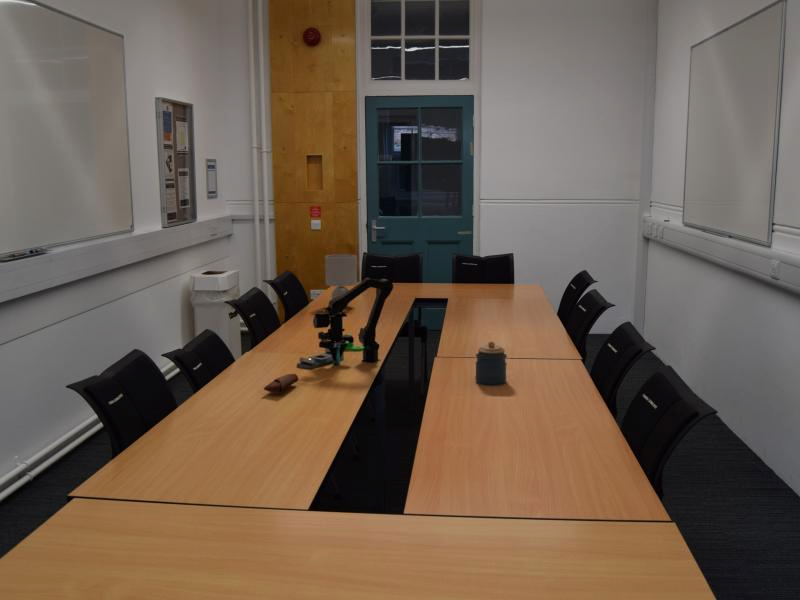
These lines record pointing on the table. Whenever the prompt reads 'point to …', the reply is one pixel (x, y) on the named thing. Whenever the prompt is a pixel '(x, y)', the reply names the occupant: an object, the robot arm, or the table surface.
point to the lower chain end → (311, 363)
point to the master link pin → (338, 355)
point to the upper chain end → (324, 356)
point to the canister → (491, 365)
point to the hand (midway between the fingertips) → (336, 360)
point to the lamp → (340, 272)
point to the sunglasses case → (281, 383)
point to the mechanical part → (351, 346)
